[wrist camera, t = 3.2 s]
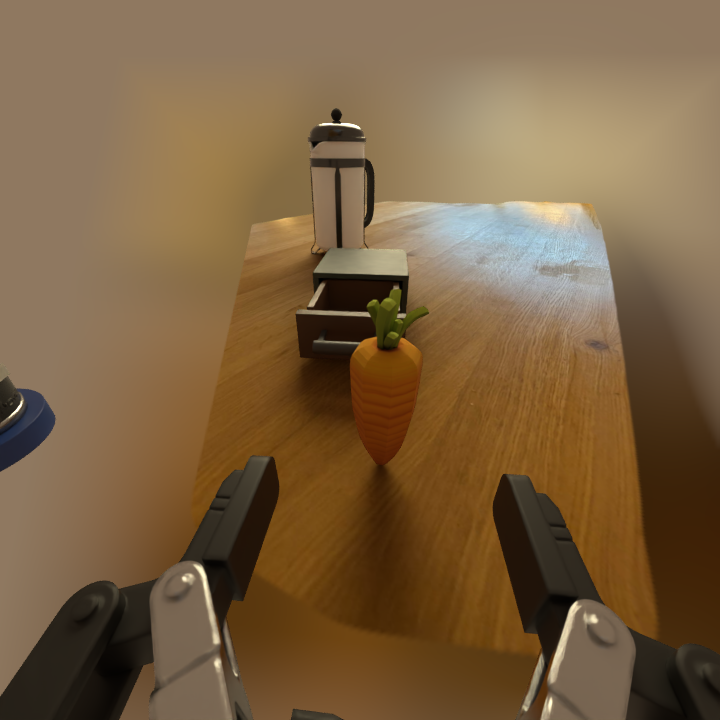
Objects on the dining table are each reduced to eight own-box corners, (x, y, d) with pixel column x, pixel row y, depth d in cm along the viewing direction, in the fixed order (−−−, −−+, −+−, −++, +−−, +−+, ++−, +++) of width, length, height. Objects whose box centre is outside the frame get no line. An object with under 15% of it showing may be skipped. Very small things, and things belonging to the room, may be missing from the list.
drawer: (403, 384, 36) (408, 336, 33) (290, 378, 37) (284, 331, 33) (401, 315, 51) (403, 278, 48) (321, 312, 52) (318, 275, 49)
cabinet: (404, 324, 50) (409, 275, 46) (316, 321, 51) (312, 272, 47) (402, 291, 62) (406, 249, 58) (331, 288, 63) (329, 247, 59)
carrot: (376, 433, 31) (383, 273, 23) (422, 461, 28) (448, 290, 20) (338, 465, 27) (331, 292, 20) (386, 500, 25) (400, 315, 17)
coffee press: (372, 261, 79) (376, 103, 64) (306, 260, 80) (294, 103, 64) (372, 244, 94) (376, 113, 78) (316, 243, 95) (308, 113, 79)
